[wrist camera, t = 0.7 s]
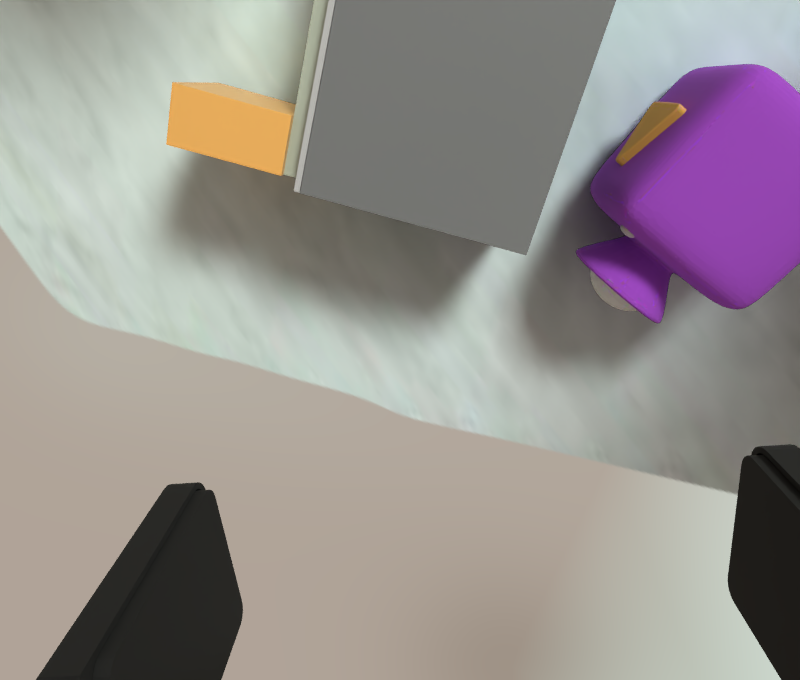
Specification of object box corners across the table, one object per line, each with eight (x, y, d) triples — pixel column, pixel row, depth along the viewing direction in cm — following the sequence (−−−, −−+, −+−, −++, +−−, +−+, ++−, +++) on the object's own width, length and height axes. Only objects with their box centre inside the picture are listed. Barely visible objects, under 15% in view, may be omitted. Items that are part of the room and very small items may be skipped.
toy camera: (535, 251, 40) (561, 300, 31) (659, 46, 35) (734, 32, 26) (672, 322, 41) (736, 389, 32) (812, 133, 36) (935, 150, 27)
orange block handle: (238, -30, 34) (185, -58, 27) (355, 4, 34) (332, -16, 28) (217, 133, 38) (166, 144, 31) (323, 162, 38) (296, 180, 31)
